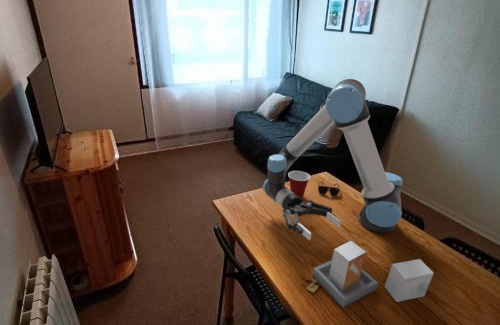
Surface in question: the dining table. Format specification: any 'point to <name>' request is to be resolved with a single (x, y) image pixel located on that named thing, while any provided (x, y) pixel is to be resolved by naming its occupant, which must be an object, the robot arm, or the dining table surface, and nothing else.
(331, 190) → the sunglasses
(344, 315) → the dining table surface
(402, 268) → the skincare box
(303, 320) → the dining table surface
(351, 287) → the tray
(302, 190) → the plastic cup
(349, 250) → the small box
